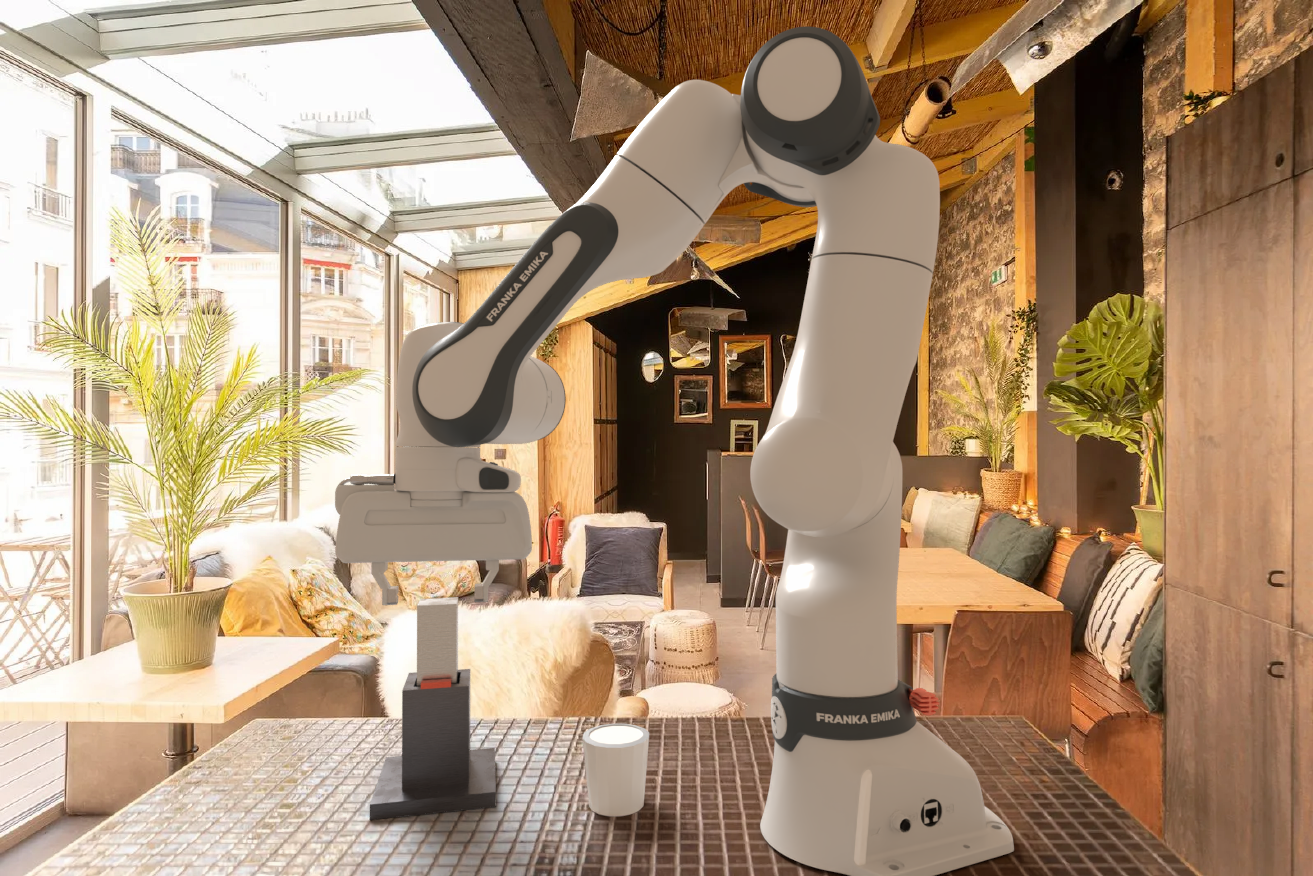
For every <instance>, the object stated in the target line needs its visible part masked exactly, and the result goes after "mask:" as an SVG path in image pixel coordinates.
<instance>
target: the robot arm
mask: <svg viewBox="0 0 1313 876" xmlns="http://www.w3.org/2000/svg"><path fill="white" fill-rule="evenodd" d="M880 124H881V116H880V114H879V111H878V108H877V106H876V104H875V101H874V98H873V96H872V93H871V90H870V87H869V83H868V82H867V79H866V77H865V74H864V71H863V69H862V67H861V64H860V62H859V61H858V59H857V57H856V56H855V54H854V53H853V51H852V49H851V48H850V47H849V45H848V44H847V43H846V42H845V41H844V40H843V39H841V38H840V37H839V36H838V35H837V34H835V33H833V32H832V31H829V30H828V29H825V28H822V27H816V26H797V27H793V28H789V29H787V30H783V31H782V32H779V33H778V34H776V35H775V36H773V37H771V38H770V39H769V40H768V41H767V42H765V43H764V44H763V45H762V46H761V47H760V48H759V49H758V51H757V52H756V53H755V55H754V56H753V58H752V59H751V61H750V63H749V65H748V66H747V69H746V71H745V73H744V77H743V80H742V85H741V89H740V94H736V93H731V92H730V91H728V90H727V89H726V88H724V87H722V86H720V85H719V84H716V83H714V82H711V81H707V80H703V79H691V80H690V79H689V80H686V81H683V82H682V83H680V84H678V85H676V86H675V87H674V88H673V89H671V90H670V92H669V93H668V94H666V95H665V96H664V97H663V98H662V99H661V100H660V101H659V103H658V104H657V105H655V107H654V108H653V109H652V110H651V111H649V113H648V114H647V115H646V116H645V118H643V119H642V121H641V122H640V123H639V124H638V126H636V128H635V129H634V131H633V132H632V133H631V134H630V136H628V138H627V139H626V140H625V142H624V143H623V145H622V146H621V147H620V148H619V150H618V151H617V152H616V155H614V157H613V159H611V161H610V163H609V164H608V165H607V166H606V168H605V169H604V170H603V172H602V173H601V174H600V176H599V177H598V178H597V180H595V182H594V184H592V186H590V188H589V189H588V190H587V192H586V193H584V194H583V196H581V198H580V199H579V200H578V201H577V202H576V203H575V204H573V205H572V206H571V207H569V208H568V209H567V210H565V211H563V213H561V214H560V215H559V216H558V217H557V218H556V219H555V220H553V222H552V223H551V224H549V226H547V228H546V229H544V231H543V232H542V233H540V235H539V236H538V238H536V240H534V242H533V243H532V245H531V246H530V247H529V248H528V249H527V250H526V252H525V253H523V255H522V256H521V257H520V258H519V260H518V261H517V262H516V263H515V264H514V266H513V267H511V269H510V270H509V272H508V273H507V274H506V275H505V276H504V278H503V279H501V281H500V282H499V283H498V285H497V286H496V287H495V288H494V289H493V290H492V292H491V293H490V294H489V296H488V297H487V298H486V300H484V301H483V303H482V304H481V305H480V306H479V307H478V308H477V309H476V311H475V312H474V313H473V314H472V315H471V316H470V317H469V318H468V319H467V320H466V321H465V322H461V321H460V322H459V321H458V322H457V321H446V322H445V321H444V322H442V321H437V322H432V323H427V324H423V325H419V326H417V327H416V328H414V329H413V330H411V331H410V332H408V334H407V335H406V336H405V338H404V340H403V342H402V345H401V349H400V353H399V359H398V365H397V366H398V367H397V377H396V399H395V400H396V410H397V414H398V417H399V431H398V434H397V438H396V441H395V462H394V464H395V465H394V466H395V467H394V468H395V469H394V471H395V473H393V474H392V473H388V474H387V473H384V474H383V473H380V474H370V475H367V474H362V473H361V474H359V473H357V474H351V475H350V477H348V478H345V479H343V480H341V481H340V482H339V483H338V484H337V486H336V488H335V491H334V508H335V511H336V512H337V513H338V515H339V517H338V518H339V519H338V523H337V530H336V537H335V548H334V549H335V550H334V552H335V553H334V554H335V555H336V557H337V558H338V560H340V562H341V563H343V564H364V563H365V564H369V563H371V569H370V570H371V575H372V576H373V578H374V580H375V582H376V584H377V585H378V588H380V589H381V590H382V591H381V604H382V606H397V605H398V604H399V595H398V594H399V591H400V590H399V587H400V586H399V585H391V584H390V582H389V579H388V578H387V577H386V575H385V574H384V573H386V572H387V570H388V568H389V563H409V562H410V563H414V562H415V563H417V562H418V563H419V562H459V561H485V570H486V571H488V572H487V574H486V576H485V577H484V580H483V581H482V583H474V599H473V600H474V603H488V602H489V586H491V584H492V583H493V581H494V579H495V578H496V576H497V575H498V573H499V571H500V569H499V567H500V561H504V560H511V561H512V560H526V559H527V558H528V557H529V555H530V554H531V553H532V551H533V538H532V537H533V536H532V535H533V534H532V526H531V525H532V524H531V520H530V519H531V517H530V514H529V513H530V512H529V509H528V505H527V502H526V501H525V498H524V497H523V496H522V495H521V494H519V493H518V492H516V491H518V490H519V489H520V487H521V484H522V478H521V477H522V476H521V475H520V473H519V472H518V471H516V470H514V469H511V468H508V467H503V466H502V465H499V464H498V463H496V462H494V461H493V462H492V461H484V460H482V457H481V446H482V445H510V444H511V445H522V444H524V445H525V444H530V443H534V442H536V441H539V440H542V439H544V438H547V437H548V436H550V435H551V433H553V432H554V431H555V430H556V428H558V426H559V424H560V422H561V421H562V418H563V416H564V413H565V410H566V409H565V408H566V401H567V400H566V399H567V398H566V397H567V395H566V390H565V386H564V382H563V380H562V378H561V376H560V375H559V374H558V372H557V370H555V369H554V368H553V367H552V366H551V365H549V364H548V363H546V362H544V361H543V360H541V359H539V358H537V357H534V356H532V355H533V354H534V352H535V351H536V350H537V349H538V348H539V346H540V345H541V344H542V343H543V342H544V341H545V339H546V338H547V337H548V336H549V334H551V332H552V331H553V330H554V328H555V327H556V326H557V325H558V324H559V323H560V322H561V320H562V319H563V318H564V316H565V315H566V314H567V313H568V312H569V311H570V310H571V308H572V307H573V306H574V305H575V304H576V303H577V302H578V301H579V300H581V298H582V297H584V296H585V295H587V294H588V293H589V292H591V291H593V290H594V289H597V288H598V287H601V286H604V285H607V284H609V283H614V282H618V281H624V280H632V279H644V278H648V277H652V276H655V275H659V274H660V273H663V272H664V271H665V270H666V269H667V268H668V267H670V265H671V264H673V263H674V262H675V261H676V260H677V259H678V258H679V257H680V256H681V255H682V254H684V252H685V251H686V250H687V248H689V246H690V245H691V244H692V242H693V241H694V240H695V238H696V237H697V236H698V235H699V233H700V232H701V230H702V228H704V226H705V224H706V223H707V222H708V221H709V219H710V218H711V216H712V215H713V214H714V212H715V211H716V209H717V208H718V207H719V206H720V204H721V203H722V201H723V200H724V199H725V198H726V197H727V195H728V194H729V193H731V192H732V191H733V190H734V189H735V188H736V187H739V186H740V185H742V184H743V185H744V187H745V189H746V190H748V191H749V192H750V193H754V194H757V195H760V196H763V197H767V198H770V199H773V200H776V201H779V202H781V203H784V204H787V205H791V206H794V207H801V208H814V207H815V208H817V227H816V232H815V233H816V234H815V239H814V240H815V241H814V244H813V245H814V246H813V250H812V254H811V261H810V265H809V273H808V278H807V284H806V288H805V294H804V298H803V299H804V300H803V305H802V309H801V316H800V321H799V326H798V330H797V335H796V341H795V344H794V348H793V351H792V355H791V357H790V360H789V364H788V366H787V369H786V372H785V374H784V378H783V379H782V380H783V381H782V382H781V386H780V388H779V391H778V394H777V396H776V400H775V403H774V406H773V409H772V412H771V415H770V418H769V422H768V425H767V427H766V430H765V433H764V434H763V436H762V438H761V439H760V441H759V443H758V444H757V445H756V448H755V450H754V453H753V455H752V457H751V458H752V459H751V463H750V472H749V473H750V484H751V489H752V492H753V495H754V498H755V500H756V502H757V503H758V505H759V506H760V508H761V509H762V511H763V512H764V513H765V514H766V515H767V516H768V517H769V518H770V519H771V520H773V521H774V522H775V523H777V524H778V525H780V526H782V527H783V528H785V529H787V536H786V543H785V550H784V558H783V563H782V569H781V573H780V577H779V581H778V584H777V587H776V592H775V654H776V655H775V659H776V660H775V663H776V667H775V669H776V671H775V672H776V673H774V674H773V676H772V678H771V679H772V680H771V699H770V719H771V720H770V723H771V730H772V738H773V739H774V745H773V747H774V749H773V757H772V758H773V759H772V768H771V773H770V774H771V775H770V781H769V782H770V783H769V786H768V787H769V789H768V792H767V797H766V802H765V806H764V810H763V814H762V817H761V820H760V826H759V827H760V832H761V834H762V837H763V838H764V840H765V841H766V842H767V843H768V844H769V845H770V846H771V847H772V848H773V849H774V850H776V851H777V852H779V853H780V854H782V855H783V856H785V857H787V858H789V859H791V860H794V861H796V862H798V863H800V864H803V865H805V866H808V867H812V868H815V869H819V870H822V871H823V870H824V871H828V872H834V873H836V874H837V873H838V874H843V875H847V876H937V875H940V874H941V875H942V874H944V873H947V872H951V871H954V870H958V869H961V868H964V867H968V866H971V865H974V864H978V863H981V862H984V861H987V860H991V859H994V858H998V857H1001V856H1003V855H1007V854H1010V853H1012V852H1014V851H1015V845H1014V838H1013V834H1012V832H1011V830H1010V829H1009V827H1008V826H1007V824H1006V823H1005V822H1004V821H1003V820H1002V819H1001V818H1000V817H999V816H998V815H997V814H995V813H994V812H993V810H991V809H990V808H988V807H987V806H986V805H985V802H984V797H983V793H982V787H981V784H980V781H979V779H978V776H977V773H976V772H975V770H974V769H973V768H972V766H971V765H970V764H969V762H968V761H966V760H965V758H964V757H962V755H961V754H959V753H958V752H956V751H955V750H954V749H953V748H951V747H950V746H949V745H947V744H946V743H945V742H944V741H943V740H941V739H940V738H939V737H938V736H937V735H935V734H934V733H933V732H931V731H930V730H929V729H927V728H926V727H925V726H924V725H923V724H922V723H920V722H918V720H917V718H916V714H915V712H914V709H915V710H917V711H919V712H920V713H921V714H923V715H924V716H928V717H929V716H933V715H935V714H936V713H937V711H936V710H939V705H940V702H939V698H938V697H936V696H937V695H936V694H935V693H932V692H930V691H927V690H926V689H925V688H922V687H916V688H914V689H913V687H912V686H911V685H909V684H907V683H906V682H904V681H902V680H900V679H898V677H899V676H898V673H899V671H898V624H897V623H898V622H897V619H898V618H897V617H898V616H897V615H898V614H897V613H898V612H897V604H898V603H897V600H898V599H897V596H898V594H897V593H898V579H899V566H900V565H899V564H900V552H901V551H900V549H901V534H902V533H901V530H902V509H903V508H902V507H903V462H902V458H901V454H900V452H899V450H898V448H897V446H896V444H895V443H894V438H895V434H896V430H897V427H898V426H897V425H898V424H899V423H898V422H899V419H900V415H901V411H902V408H903V406H904V405H903V404H904V401H905V396H906V393H907V390H908V386H909V384H910V380H911V377H912V374H913V371H914V369H915V366H916V364H917V361H918V356H919V349H920V344H921V339H922V335H923V331H924V330H923V329H924V324H925V317H926V314H927V313H926V312H927V307H928V304H929V297H930V291H931V287H932V286H931V285H932V281H933V276H934V269H935V263H936V257H937V251H938V250H937V249H938V243H939V242H938V241H939V231H940V217H941V216H940V209H941V195H940V194H941V192H940V191H941V190H940V185H941V183H940V178H939V177H940V176H939V172H938V170H937V168H936V166H935V164H934V163H933V161H932V160H931V159H930V158H929V157H928V156H927V155H925V154H924V153H923V152H922V151H921V152H920V150H917V149H916V148H913V147H910V146H906V145H904V144H903V145H902V144H898V143H891V142H885V141H882V140H881V139H879V137H878V136H877V135H876V134H877V132H878V130H879V127H880ZM347 483H350V484H347Z"/></svg>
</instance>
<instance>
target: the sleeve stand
mask: <svg viewBox="0 0 1313 876" xmlns="http://www.w3.org/2000/svg"><path fill="white" fill-rule="evenodd" d="M401 693H402V697H401V698H402V699H401V702H402V703H401V705H402V706H401V709H402V711H401V720H402V721H401V725H402V726H401V733H402V734H401V755H397V756H396V755H395V756H388V757H387V756H386V757H385V759H384V762H383V766H382V768H381V771H380V774H379V777H378V779H377V782H376V784H375V785H376V786H375V788H374V791H373V793H372V797H371V799H370V803H369V821H373V820H374V819H376V820H383V819H392V818H395V819H396V818H403V817H411V816H423V815H430V814H431V815H432V814H439V813H449V812H450V813H451V812H461V811H469V810H479V809H481V810H482V809H488V808H489V809H490V808H496V807H497V801H496V800H497V799H496V798H497V797H496V790H497V787H496V784H497V783H496V747H486V748H476V749H471V668H464V669H461V668H460V669H458V684H451V679H438V680H423V681H421V687H417V671H415V672H408V674H407V677H406V679H405V682H404V685H403V688H402V690H401ZM374 821H375V820H374Z"/></svg>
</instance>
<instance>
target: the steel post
mask: <svg viewBox="0 0 1313 876" xmlns="http://www.w3.org/2000/svg"><path fill="white" fill-rule="evenodd" d="M458 670H459V596H458V597H457V596H456V597H454V596H453V597H438V598H437V597H434V598H432V597H431V598H420V599H419V601H418V603H417V605H416V672H417V687H421V681H423V680H438V679H451V684H458Z"/></svg>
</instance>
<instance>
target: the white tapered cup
mask: <svg viewBox="0 0 1313 876" xmlns="http://www.w3.org/2000/svg"><path fill="white" fill-rule="evenodd" d="M649 742H650V732H649V731H648V730H647V729H646V728H644V727H642V726H639V725H637V724H636V725H635V724H629V723H608V724H606V723H605V724H601V725H597V726H594V727H591V728H589V729H587V730H586V731H584V732H583V735H582V746H583V747H582V748H583V757H584V758H583V759H584V768H585V779H586V789H587V800H588V807H589V808H590V810H591V811H592V812H594V813H595V814H598V815H599V816H605V817H624V816H625V817H626V816H629V815H632V814H635V813H636V812H637V813H638V812H639V811H640V810H642V808H643V807H644V806H645V793H646V792H645V791H646V780H647V770H648V769H647V768H648V755H649V744H650V743H649Z"/></svg>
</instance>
